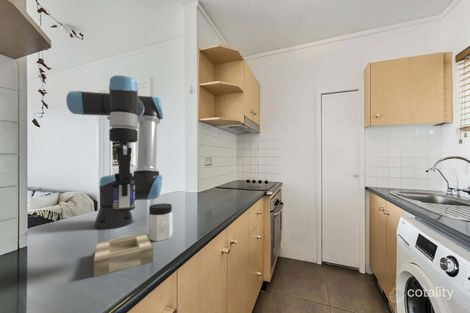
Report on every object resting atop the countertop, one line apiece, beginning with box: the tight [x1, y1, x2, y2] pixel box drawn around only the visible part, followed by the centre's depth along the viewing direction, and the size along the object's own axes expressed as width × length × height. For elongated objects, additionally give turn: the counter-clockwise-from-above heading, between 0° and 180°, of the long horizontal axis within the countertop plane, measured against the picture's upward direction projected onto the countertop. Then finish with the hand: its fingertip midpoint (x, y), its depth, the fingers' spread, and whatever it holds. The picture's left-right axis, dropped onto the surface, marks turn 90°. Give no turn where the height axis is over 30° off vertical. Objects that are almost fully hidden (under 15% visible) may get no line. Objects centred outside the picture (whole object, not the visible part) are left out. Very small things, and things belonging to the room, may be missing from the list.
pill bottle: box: [112, 172, 136, 212], centre depth 61 cm, size 6×6×11 cm
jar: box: [147, 203, 174, 242], centre depth 78 cm, size 9×8×12 cm
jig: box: [93, 233, 154, 278], centre depth 62 cm, size 16×14×4 cm
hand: (123, 205), depth 61 cm, fingers closed on pill bottle, 6 cm apart
